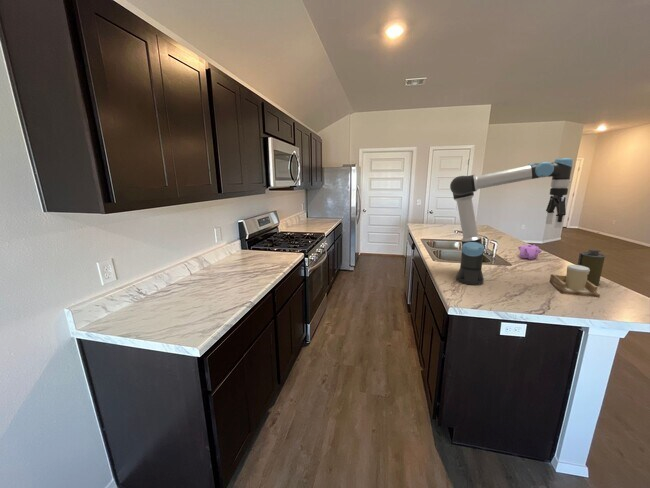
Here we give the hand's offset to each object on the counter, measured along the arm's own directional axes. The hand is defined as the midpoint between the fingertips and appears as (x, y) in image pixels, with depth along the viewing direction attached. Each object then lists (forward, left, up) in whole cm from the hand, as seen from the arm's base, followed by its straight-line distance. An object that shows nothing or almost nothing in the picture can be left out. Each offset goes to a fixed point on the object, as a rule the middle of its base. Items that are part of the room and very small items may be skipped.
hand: (552, 226), depth 156 cm
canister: (+24, +10, -35) cm, 44 cm away
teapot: (+7, +59, -35) cm, 69 cm away
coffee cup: (+12, -7, -33) cm, 36 cm away
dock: (+12, -5, -35) cm, 37 cm away
